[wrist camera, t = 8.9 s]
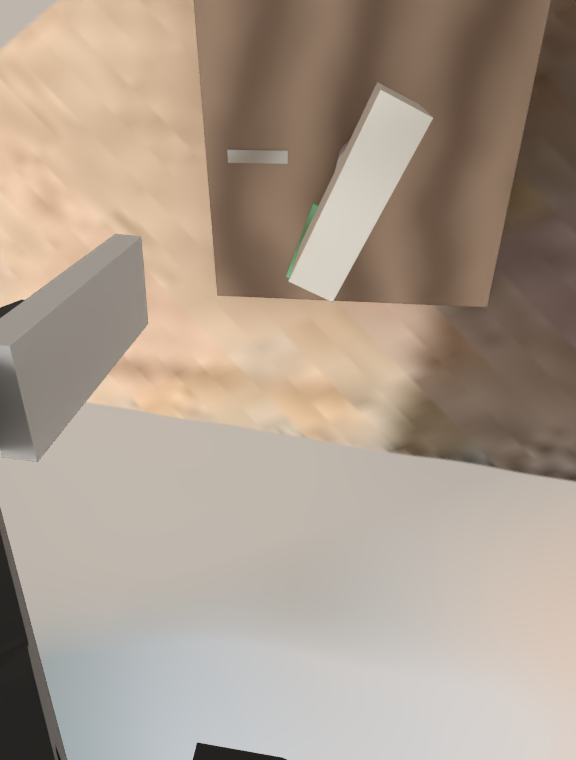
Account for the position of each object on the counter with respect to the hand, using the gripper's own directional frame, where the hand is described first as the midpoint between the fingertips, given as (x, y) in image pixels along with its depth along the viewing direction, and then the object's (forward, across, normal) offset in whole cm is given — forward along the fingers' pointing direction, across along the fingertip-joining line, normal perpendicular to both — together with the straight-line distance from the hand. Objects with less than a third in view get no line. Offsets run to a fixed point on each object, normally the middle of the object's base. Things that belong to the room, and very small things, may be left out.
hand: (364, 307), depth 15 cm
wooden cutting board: (+25, -1, 0) cm, 25 cm away
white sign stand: (+23, -1, -2) cm, 23 cm away
